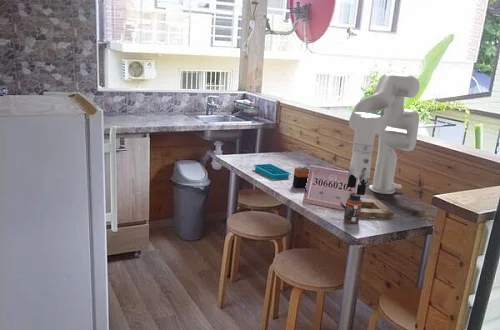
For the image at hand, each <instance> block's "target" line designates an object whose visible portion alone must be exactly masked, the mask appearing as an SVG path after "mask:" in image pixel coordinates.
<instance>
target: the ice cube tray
mask: <svg viewBox="0 0 500 330" xmlns="http://www.w3.org/2000/svg"><path fill="white" fill-rule="evenodd" d="M253 167H254V171H256V172H258V173H260V174H261V173H262V174H261V175H263V174H264V176H265V175H266V176H265V177H267V176H268V177H267V178H270V179H271V180H274V179H275V180H285V179H289V177H290V175H291V174H292V173H291V172H289V171H287V170H285V169H283V168H282V167H279V166H277V165H275V164H272V163H260V164H253Z"/></svg>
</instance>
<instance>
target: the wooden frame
mask: <svg viewBox="0 0 500 330" xmlns="http://www.w3.org/2000/svg"><path fill="white" fill-rule="evenodd" d="M360 200H361V201H362V205H361V211H360V217H359V219H369V218H368V217H371V218H370V219H373V218H372V217H375V218H374V219H380V218H394V219H395V212H393V210H391V209H390V207H388V206H387V205H385V204H384V203H382V201H381V200H379V199H377V198H375V199H373V198H372V199H371V198H360ZM367 207H372V208H367Z"/></svg>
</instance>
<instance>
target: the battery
mask: <svg viewBox="0 0 500 330" xmlns="http://www.w3.org/2000/svg"><path fill="white" fill-rule="evenodd" d="M309 170H310V168H309V166H303V167H300V166H298V167H295V168H294V171H293V172H294V173H293V180H292V186H293V187H295V189H306V188H305V186H306V183H307V178H308V174H309Z"/></svg>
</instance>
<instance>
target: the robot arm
mask: <svg viewBox="0 0 500 330" xmlns="http://www.w3.org/2000/svg"><path fill="white" fill-rule="evenodd" d="M419 81H420V80H419V79H418V78H416V77H415V76H414V75H410V74H402V73H393V72H389V73H388V72H387V73H384V74H383V75H381V76H380V78H379V79H378V83H377V84H376V87H375V89H374V91H373V93H372V94H371V95H369V96H367V97H365V98H363V99H361V100H360V101H358V103H356V105H355V106H354V107H353V110H352V112H351V113H350V116H349V119H348V120H349V121H348V126H349V128H350V129H351V130H353V131H354V137H353V142H352V149H351V151H352V154H351V158H350V163H349V167H348V168H349V170H348V179H347V186H346V187H348V188H352V189H353V188H356V192H355V193H356V194H357V195H361V196H364V195H366V189H367V185H368V182H369V179H370V176H371V170H372V158H373V157H372V154H373V149H374V144H375V138H376V135H378V147H377V155H376V162H375V168H374V175H373V179H372V184H370V185H368V189H369V190H370V191H372V192H374V193H377V194H383V195H392V194H395V192H396V190H395V189H402V187H403V186H402V184H398V183H395V182H394V179H395V174H396V173H395V172H396V168H397V163H398V156H397V153H396V151H395V150H399V151H400V150H401V151H405V152H410V151H413V150H414V149H415V147H416V144H417V139H418V138H417V137H418V131H419V123H420V115H419V112H418V111H417V110H414V109H407V108H405V98H410V99H411V98H415V97H416V96H417V95H418V94H419V92H420V82H419ZM378 111H383V115H380V114H374V113H372V112H378ZM357 179H358V181H357ZM357 182H358V184H357ZM356 184H357V186H356Z"/></svg>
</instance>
